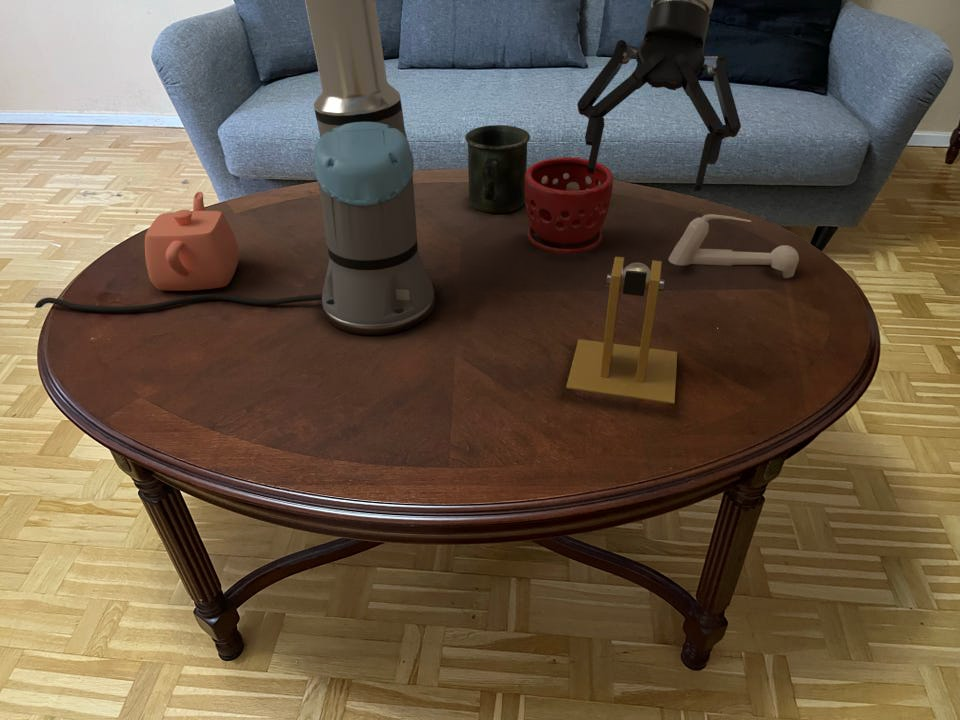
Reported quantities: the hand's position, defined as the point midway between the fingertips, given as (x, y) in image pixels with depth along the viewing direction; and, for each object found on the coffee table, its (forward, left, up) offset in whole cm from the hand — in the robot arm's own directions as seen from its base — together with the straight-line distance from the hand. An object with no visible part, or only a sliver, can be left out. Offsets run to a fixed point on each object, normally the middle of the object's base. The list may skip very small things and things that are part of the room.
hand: (643, 179), depth 91 cm
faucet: (+14, +10, -17) cm, 24 cm away
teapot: (-62, -9, -17) cm, 65 cm away
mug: (-25, +25, -17) cm, 39 cm away
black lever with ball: (+1, -16, -8) cm, 18 cm away
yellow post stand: (+1, -20, -17) cm, 26 cm away
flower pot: (-11, +13, -17) cm, 24 cm away
